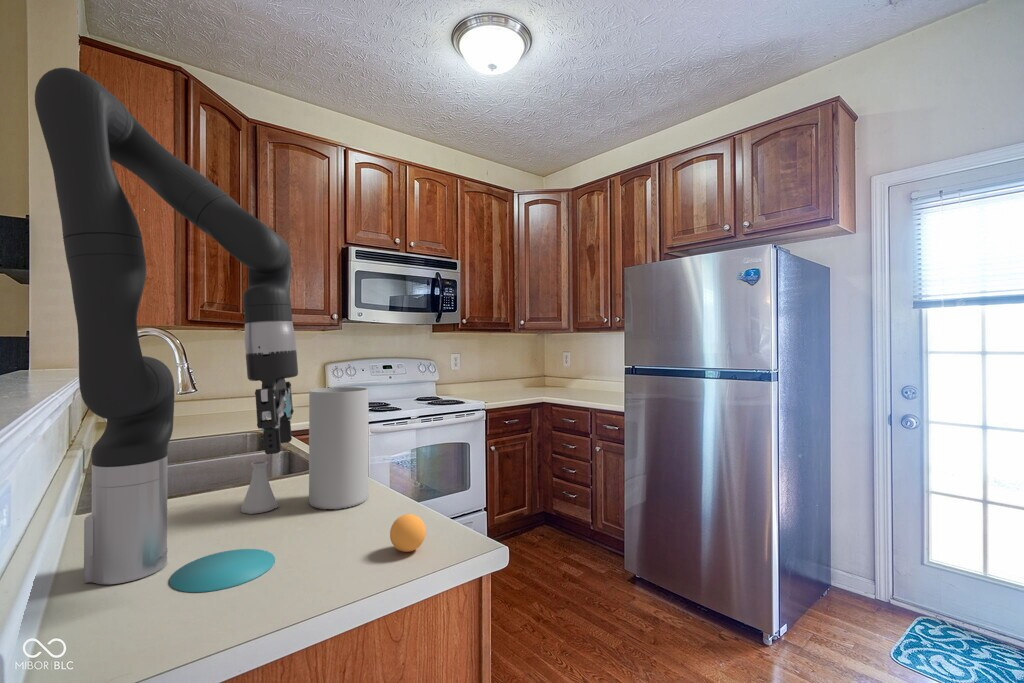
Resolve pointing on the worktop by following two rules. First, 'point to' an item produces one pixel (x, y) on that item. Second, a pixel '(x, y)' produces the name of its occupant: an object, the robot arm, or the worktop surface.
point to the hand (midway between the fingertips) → (279, 447)
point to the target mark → (222, 570)
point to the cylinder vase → (338, 447)
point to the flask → (259, 491)
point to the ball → (407, 532)
